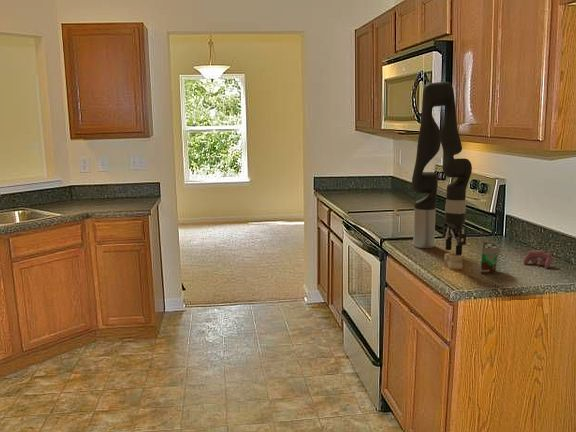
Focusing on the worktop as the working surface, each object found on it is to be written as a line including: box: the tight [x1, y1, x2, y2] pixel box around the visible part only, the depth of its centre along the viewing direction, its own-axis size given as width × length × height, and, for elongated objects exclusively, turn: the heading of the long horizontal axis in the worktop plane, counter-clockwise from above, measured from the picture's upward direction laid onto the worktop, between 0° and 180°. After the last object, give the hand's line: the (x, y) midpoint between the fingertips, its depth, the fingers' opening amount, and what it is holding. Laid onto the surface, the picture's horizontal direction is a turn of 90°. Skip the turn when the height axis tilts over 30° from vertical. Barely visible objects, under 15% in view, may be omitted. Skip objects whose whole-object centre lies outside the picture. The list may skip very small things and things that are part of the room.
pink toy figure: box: [523, 249, 554, 269], centre depth 218 cm, size 10×5×7 cm, turn 44°
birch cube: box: [443, 252, 464, 270], centre depth 216 cm, size 5×5×5 cm
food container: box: [480, 241, 501, 275], centre depth 210 cm, size 12×6×10 cm, turn 158°
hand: (453, 252), depth 215 cm, fingers open, 8 cm apart
